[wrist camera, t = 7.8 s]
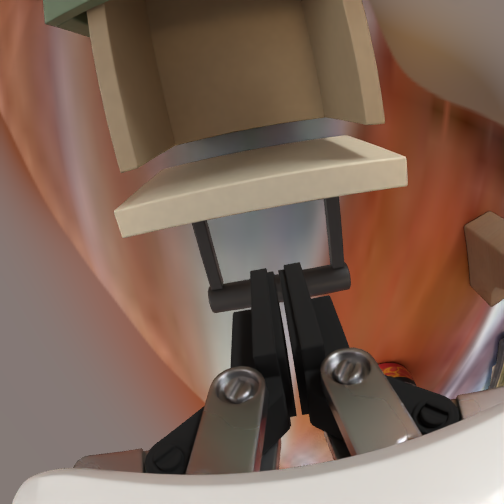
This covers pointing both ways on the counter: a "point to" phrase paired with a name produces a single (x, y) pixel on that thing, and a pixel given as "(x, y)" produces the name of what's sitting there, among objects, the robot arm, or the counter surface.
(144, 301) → the counter surface
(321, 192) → the drawer
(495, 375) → the aerial photo print
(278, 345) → the robot arm
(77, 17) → the cabinet
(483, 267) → the wooden block
